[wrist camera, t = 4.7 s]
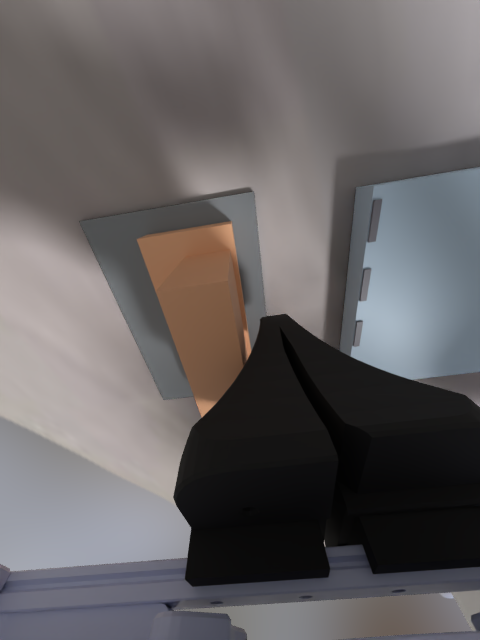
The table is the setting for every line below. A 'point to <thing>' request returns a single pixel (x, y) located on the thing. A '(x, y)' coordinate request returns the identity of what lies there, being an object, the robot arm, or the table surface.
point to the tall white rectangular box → (468, 604)
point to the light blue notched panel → (415, 276)
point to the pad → (136, 285)
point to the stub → (201, 304)
